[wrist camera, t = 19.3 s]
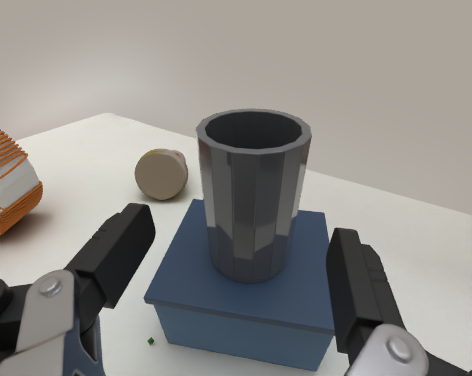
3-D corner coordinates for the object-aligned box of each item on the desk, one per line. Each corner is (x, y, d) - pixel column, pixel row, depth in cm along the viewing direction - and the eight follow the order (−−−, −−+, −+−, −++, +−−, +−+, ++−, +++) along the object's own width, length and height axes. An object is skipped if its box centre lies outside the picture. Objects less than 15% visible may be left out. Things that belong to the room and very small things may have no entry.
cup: (289, 225, 21) (307, 111, 16) (288, 290, 17) (315, 158, 11) (219, 217, 22) (212, 106, 17) (199, 276, 17) (179, 147, 12)
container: (311, 262, 27) (324, 212, 23) (321, 377, 19) (345, 332, 14) (199, 247, 29) (193, 198, 25) (162, 346, 20) (142, 297, 16)
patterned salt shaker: (196, 165, 44) (199, 130, 35) (181, 216, 40) (180, 190, 31) (154, 155, 44) (146, 116, 35) (134, 205, 39) (119, 175, 30)
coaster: (225, 336, 21) (225, 332, 21) (141, 433, 16) (138, 430, 16) (169, 281, 26) (168, 276, 25) (90, 344, 21) (86, 340, 20)
